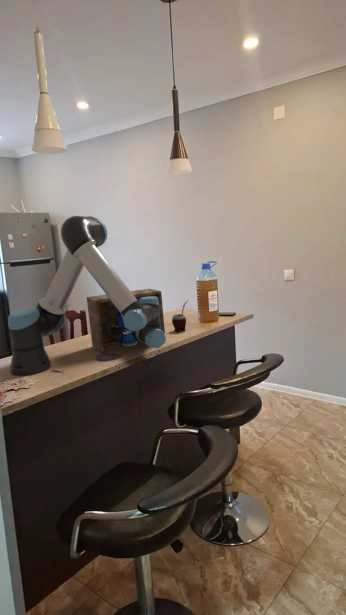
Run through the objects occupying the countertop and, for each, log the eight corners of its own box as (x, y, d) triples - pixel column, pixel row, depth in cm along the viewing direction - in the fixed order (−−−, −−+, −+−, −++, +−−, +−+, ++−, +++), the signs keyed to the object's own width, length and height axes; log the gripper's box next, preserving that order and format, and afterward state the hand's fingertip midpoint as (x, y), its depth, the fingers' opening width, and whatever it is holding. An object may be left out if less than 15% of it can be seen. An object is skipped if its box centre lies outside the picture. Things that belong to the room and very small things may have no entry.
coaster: (99, 362, 163) (99, 361, 163) (93, 357, 172) (93, 355, 172) (123, 357, 167) (123, 356, 167) (116, 352, 176) (116, 351, 176)
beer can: (120, 343, 192) (116, 309, 190) (138, 341, 193) (134, 307, 191) (120, 347, 184) (116, 312, 182) (138, 345, 185) (135, 310, 182)
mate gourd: (170, 332, 206) (167, 302, 204) (178, 328, 213) (175, 300, 211) (183, 332, 203) (180, 302, 200) (190, 329, 209) (188, 300, 207)
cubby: (100, 353, 176) (94, 300, 173) (92, 346, 190) (86, 297, 186) (165, 341, 188) (161, 291, 185) (153, 335, 202) (148, 288, 198)
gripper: (115, 347, 165) (102, 337, 184) (172, 336, 174) (153, 328, 194) (113, 328, 163) (100, 321, 183) (170, 319, 173) (152, 312, 192)
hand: (127, 324), depth 188 cm, fingers open, 13 cm apart
